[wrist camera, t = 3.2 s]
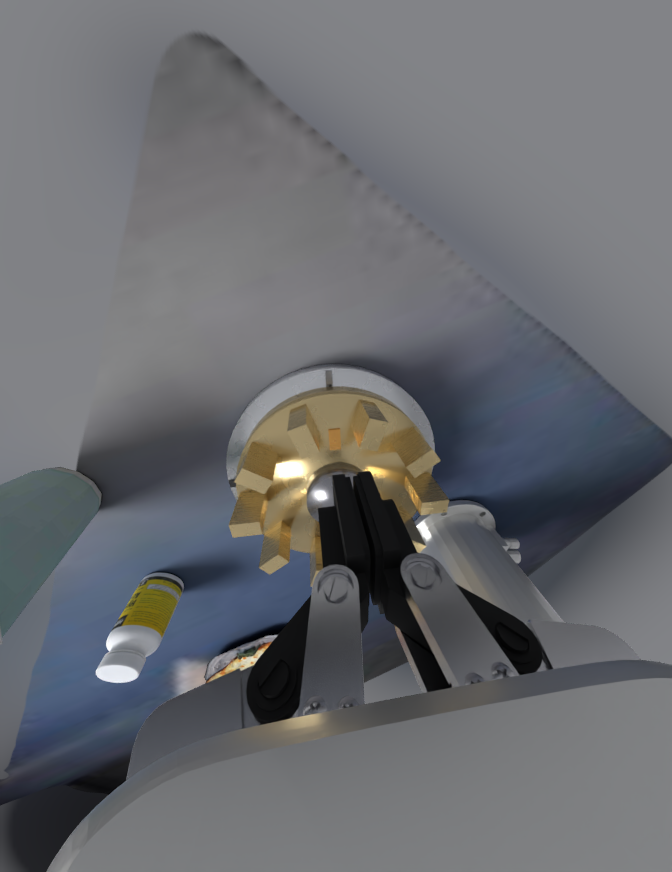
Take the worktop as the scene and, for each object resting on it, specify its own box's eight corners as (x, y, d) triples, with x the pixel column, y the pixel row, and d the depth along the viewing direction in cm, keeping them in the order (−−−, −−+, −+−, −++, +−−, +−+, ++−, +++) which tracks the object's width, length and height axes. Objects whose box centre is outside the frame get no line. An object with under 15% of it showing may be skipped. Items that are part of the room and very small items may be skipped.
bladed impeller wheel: (413, 527, 32) (436, 575, 27) (260, 546, 31) (250, 600, 25) (432, 378, 24) (473, 402, 18) (219, 395, 22) (190, 426, 16)
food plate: (256, 701, 55) (253, 725, 52) (179, 659, 45) (170, 685, 42) (361, 659, 53) (365, 681, 50) (305, 603, 42) (306, 627, 39)
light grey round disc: (453, 376, 26) (465, 381, 24) (401, 532, 36) (406, 545, 34) (224, 351, 23) (216, 355, 21) (236, 531, 32) (231, 546, 30)
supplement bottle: (146, 566, 34) (91, 658, 25) (189, 575, 35) (152, 664, 27) (137, 591, 35) (84, 684, 27) (179, 598, 37) (141, 688, 28)
